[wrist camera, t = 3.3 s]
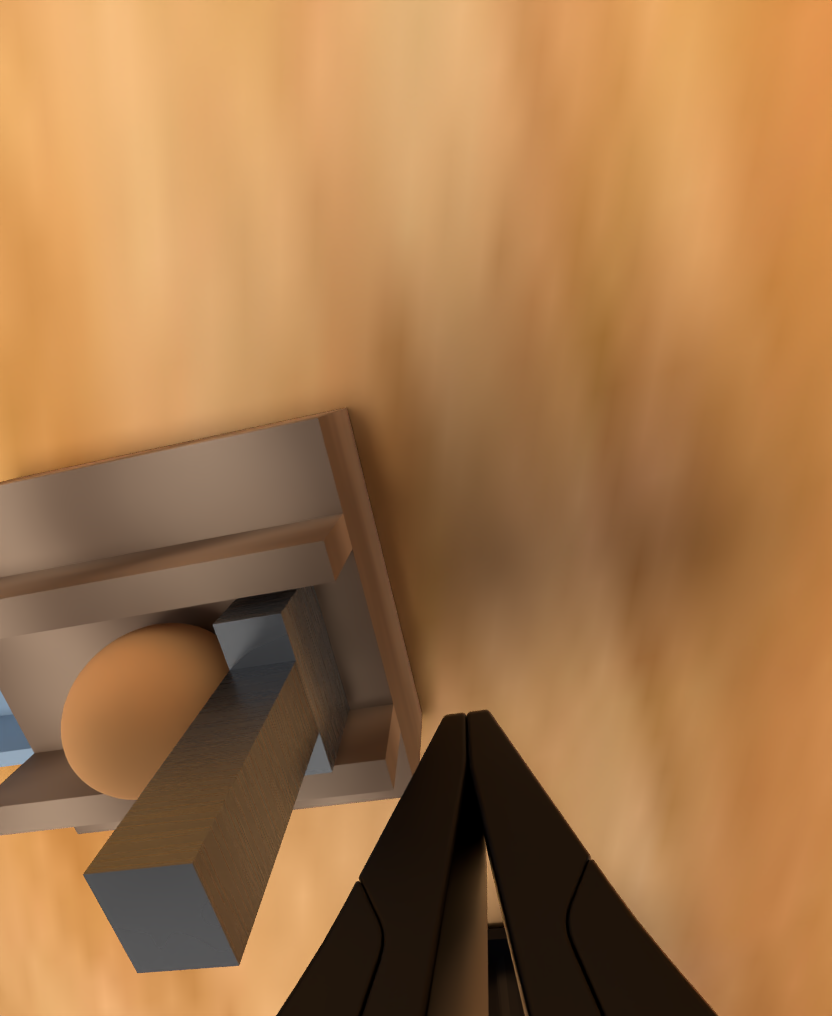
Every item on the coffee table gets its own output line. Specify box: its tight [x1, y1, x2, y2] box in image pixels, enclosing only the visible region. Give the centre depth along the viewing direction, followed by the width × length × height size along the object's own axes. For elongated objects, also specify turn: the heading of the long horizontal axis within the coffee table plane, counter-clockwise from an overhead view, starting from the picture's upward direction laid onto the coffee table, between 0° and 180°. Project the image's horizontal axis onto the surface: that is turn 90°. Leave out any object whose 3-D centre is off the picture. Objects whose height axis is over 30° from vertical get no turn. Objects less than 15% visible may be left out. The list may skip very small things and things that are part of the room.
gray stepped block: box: [83, 586, 350, 973], centre depth 9 cm, size 2×4×7 cm, turn 12°
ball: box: [61, 623, 230, 800], centre depth 11 cm, size 4×4×4 cm
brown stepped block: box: [0, 408, 422, 835], centre depth 14 cm, size 12×12×6 cm
